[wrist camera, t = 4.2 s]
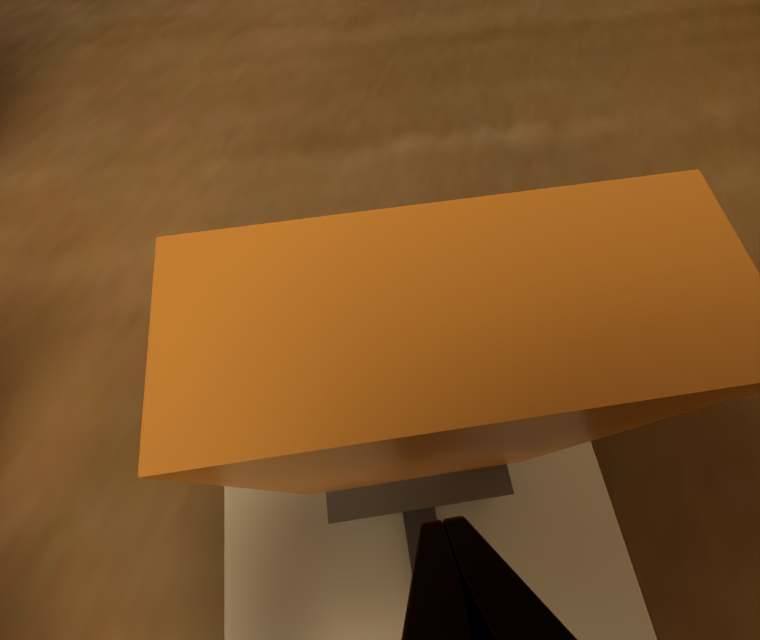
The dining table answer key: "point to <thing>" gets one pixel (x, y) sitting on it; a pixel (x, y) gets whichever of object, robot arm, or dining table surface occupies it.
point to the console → (397, 554)
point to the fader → (442, 340)
